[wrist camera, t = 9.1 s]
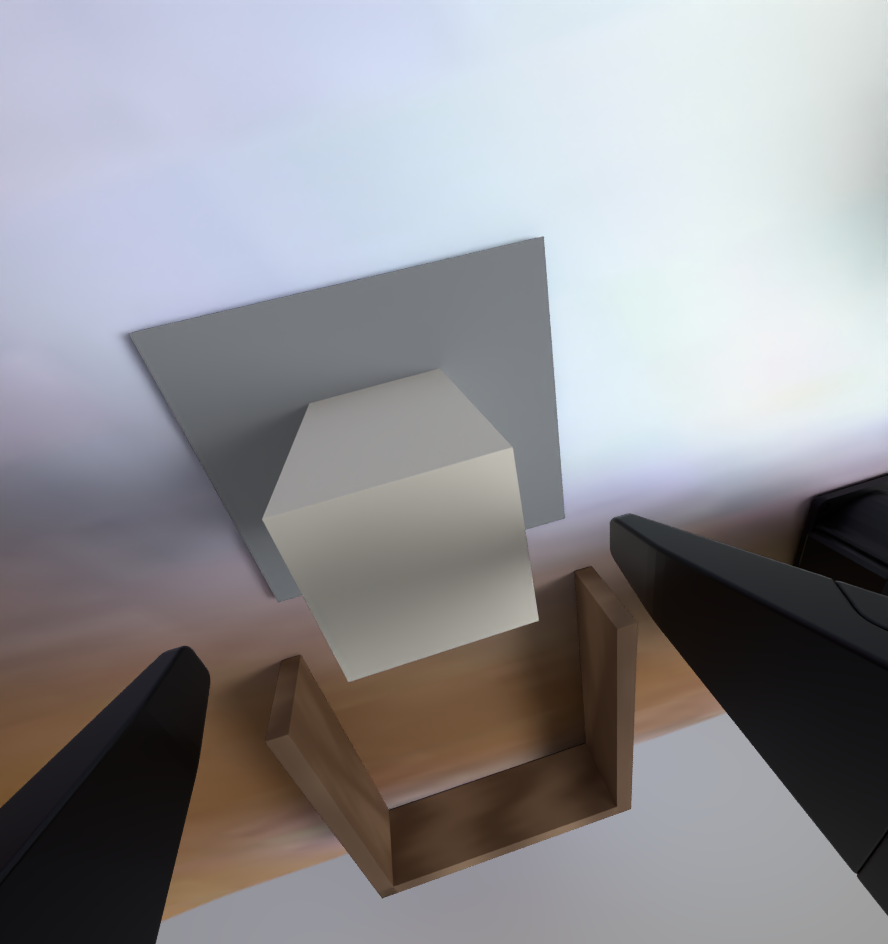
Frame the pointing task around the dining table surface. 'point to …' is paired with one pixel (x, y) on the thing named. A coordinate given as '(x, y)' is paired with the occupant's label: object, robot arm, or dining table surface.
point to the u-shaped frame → (480, 802)
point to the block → (403, 524)
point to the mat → (364, 373)
